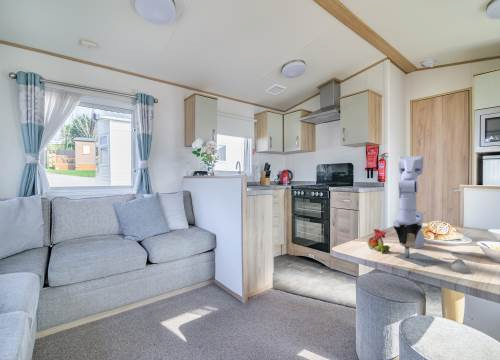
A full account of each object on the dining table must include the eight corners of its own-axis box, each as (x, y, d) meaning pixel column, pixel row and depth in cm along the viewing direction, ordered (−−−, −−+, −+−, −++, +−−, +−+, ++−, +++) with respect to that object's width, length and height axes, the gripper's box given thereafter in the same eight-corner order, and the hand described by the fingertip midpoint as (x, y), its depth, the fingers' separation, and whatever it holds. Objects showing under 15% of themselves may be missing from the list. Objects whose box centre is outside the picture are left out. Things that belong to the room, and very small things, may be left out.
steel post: (406, 256, 100) (406, 242, 99) (410, 258, 98) (410, 243, 98) (403, 257, 99) (403, 243, 99) (407, 258, 98) (407, 244, 97)
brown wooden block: (410, 243, 101) (410, 232, 100) (417, 247, 96) (417, 235, 95) (397, 243, 101) (397, 232, 101) (404, 246, 96) (404, 235, 96)
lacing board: (416, 254, 105) (416, 252, 105) (449, 265, 93) (450, 262, 93) (392, 258, 101) (392, 255, 101) (424, 269, 88) (424, 267, 88)
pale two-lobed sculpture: (466, 281, 82) (447, 272, 86) (468, 273, 88) (451, 266, 91) (471, 270, 81) (452, 261, 84) (473, 263, 86) (455, 256, 90)
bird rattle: (368, 257, 108) (388, 254, 102) (359, 232, 112) (377, 228, 105) (375, 254, 112) (394, 251, 105) (366, 231, 116) (384, 226, 109)
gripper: (409, 207, 105) (408, 238, 105) (386, 209, 99) (386, 242, 99) (426, 209, 98) (426, 242, 99) (403, 211, 92) (402, 246, 93)
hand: (407, 242), depth 98 cm, fingers closed on brown wooden block, 5 cm apart
